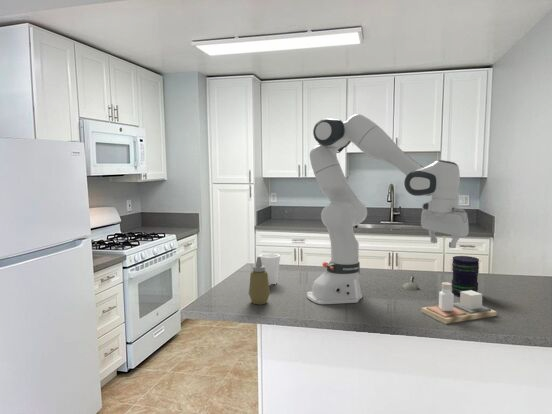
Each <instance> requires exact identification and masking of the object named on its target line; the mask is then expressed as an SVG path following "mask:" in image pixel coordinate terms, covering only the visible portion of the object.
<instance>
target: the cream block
mask: <svg viewBox="0 0 552 414" xmlns="http://www.w3.org/2000/svg"><path fill="white" fill-rule="evenodd" d="M459 302H460V305H461V306H463V307H466V308H468V309H478V308H482V306H483V293H481V292H475V291H472V290H469V291H461V292H460V297H459Z"/></svg>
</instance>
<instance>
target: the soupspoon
mask: <svg viewBox="0 0 552 414" xmlns="http://www.w3.org/2000/svg"><path fill="white" fill-rule="evenodd" d="M409 278H410V280H409V281H408V282H404V283H402V289H403V290H405V291H414V292H415V291H418V290H419V285H418V283H415V282H413V279H414V278H415V276H414V275H413V274H411V275H410V277H409Z"/></svg>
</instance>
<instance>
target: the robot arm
mask: <svg viewBox="0 0 552 414" xmlns="http://www.w3.org/2000/svg"><path fill="white" fill-rule="evenodd" d="M312 131H313V133H312V134H313V138H314V139H315V141H316V142H317V143H318V144H317V145H316V146H314V147H313V148H312V149H311V150H310V152H309V160H310V166H311V168H312V171H313V175H314V177H315V180H316V182H317V184H318V188H319V189H320V192H321V193H322V195H324V196H325V197H326V198H327V199H328V201H329V202H330V203H329V204H328V205H326V206H324V208H322V210H321V213H320V219H321V222H322V224H323V225H324V227H326V230H327V232H328V235H329V241H330V261H329V262H327V261H323V262H322V264H321V265H322V267H324V268H325V269H326V271H324V272H323V273H322V274H321V275H319V276H318V277H317V278H316V279H315V280H314V281H313V284H312V288H311V291H308V292H306V297H307V299H308V300H310V301H312V302H313V303H315V304H318V305H333V304H336V305H337V304H353V303H355V304H357V303H358V302H359V301H360V299H362V298H363V293H362V289H361V284H360V270H361V269H360V268H361V267H360V266H361V263H360V262H361V261H359V260H360V259H359V255H360V254H359V250H360V247H359V246H360V243H359V241H358V240H357V239H356V236H355V232H354V227H356V226H358V225H360V224H362V223H363V222H364V221H365V220H366V218H367V216H368V209H367V206H366V204H365V203H363V201H361V200H360V199H359V198H358V196H357V195H356V193H355V192H354V190H353V189H352V188H351V186H350V184H349V182H348V181H347V178H346V176H345V174H344V172H343V169H342V167H341V163H340V162H339V160H338V159H339V158H338V156H337V154H339V153H341V152H342V151H343V150H345V148H347V147H348V146H349V145H350V144H351V143H352V144H353V145H355V146H356V147H357V148H358V149H359V150H360V151H362V153H364V154H365V155H366V156H368V157H370V158H372V159H375V160H378V161H382V162H386V163H389V164H391V165H393V166H394V167H395V168H396V169H398V170H399V171H400V172H401V173H403V174H404V175H405V178H404V182H403V183H404V188H405V190H406V192H407V193H408V194H410V196H411V195H412V196H414V197H425V196H426V197H430V196H431V200H429V201H427V202H423V203H422V204H421V210H422V211H421V218H420V225H421V227H422V229H423V230H428V235H429V239H430V243H431V244H437V243H438V238H437V237H436V233H439V234H440V233H441V234H445V235H448V236H449V235H450V236H451V237H450V238H451V241H449V242H448V247H449V248H450V249H456V248H457V243H458V241H459V240H460V238H463V237H468V235H469V229H470V227H469V218H468V213H467V212H466V210H465V209H463V208H459V205H460V204H459V202H460V201H459V200H460V197H459V189H460V183H461V181H460V179H461V175H460V172H461V171H460V168H459V165H458V164H457V163H456V162H454V161H449V160H443V159H437V160H435V161H433V163H430V164H429V165H427V166H422V165H421V164H419V163H418V162H417V161H415V160H414V159H413V158H412V157H410V156H409V155H408V153H406V152H405V151H404V150H403V149H401V147H399V146H398V144H397V143H396V142H394V140H393V139H392V138H391V136H390V135H388V134H387V133H386V132H385V131H384V130H383V128H381V126H379V125H378V124H377V123H376V122H374V121H373V120H371V119H370V118H368V117H366V116H365V115H363V114H360V113H357V114H356V113H355V114H353V115H351V116H350V117H349V118H348V119H347V120H346V121H342V120H341V119H335V118H329V117H327V118H322V119H320V120H319V121H317V122H316V124H315V125H314V127H313V130H312Z"/></svg>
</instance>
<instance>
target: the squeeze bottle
mask: <svg viewBox="0 0 552 414" xmlns="http://www.w3.org/2000/svg"><path fill="white" fill-rule="evenodd" d="M255 261H256V263H255V265H253V266H252V271H251V272H250V276H249V277H250V278H249V288H248V295H249V299H250V301H251V303H252V304H253V305H265V304H267V303H268V300H269V297H270V293H271V292H270V285H269V283H268V274H267V272H266V271H265V266H263V265H262V262H261V258H260V257H259V256H257V257H256V260H255Z"/></svg>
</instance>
